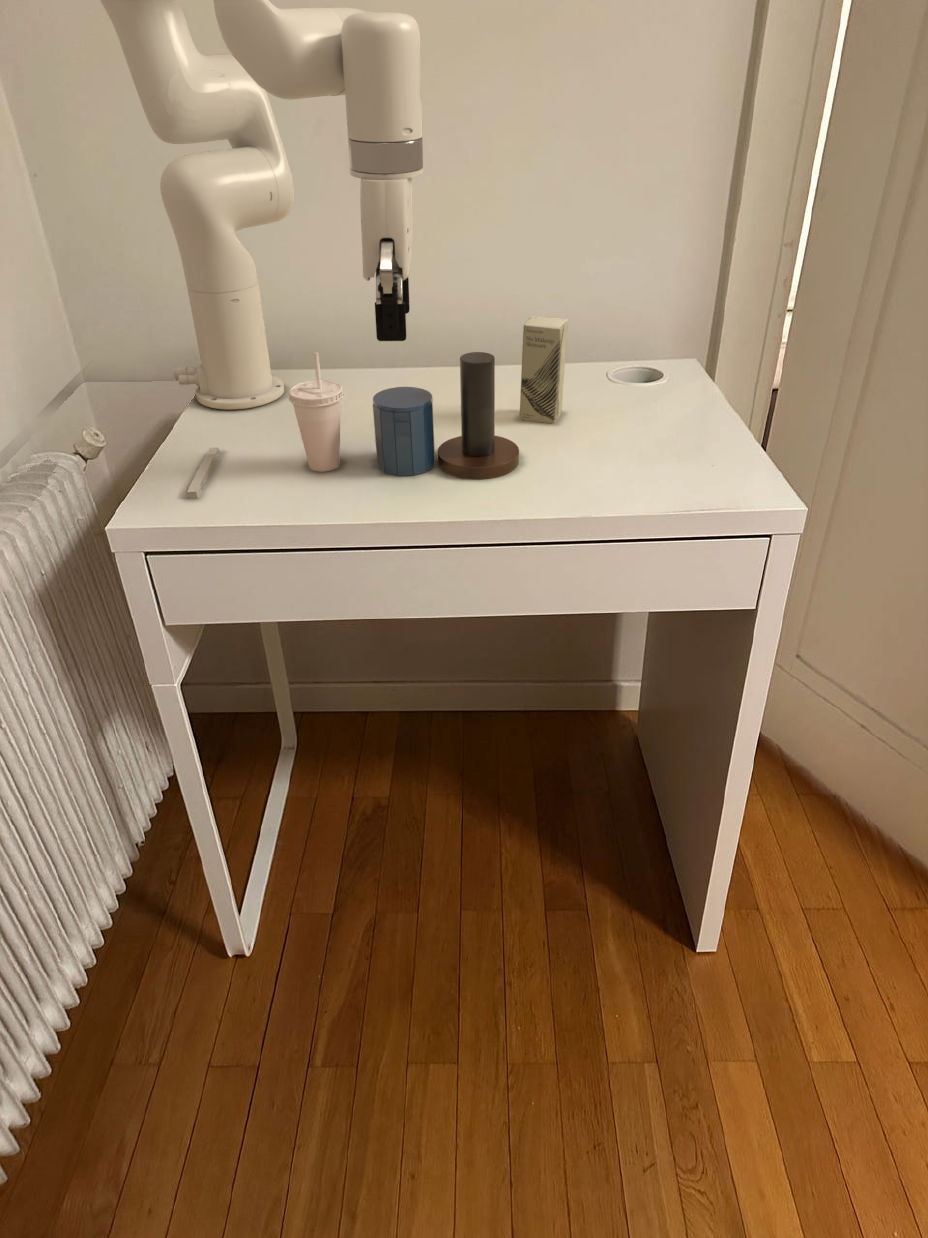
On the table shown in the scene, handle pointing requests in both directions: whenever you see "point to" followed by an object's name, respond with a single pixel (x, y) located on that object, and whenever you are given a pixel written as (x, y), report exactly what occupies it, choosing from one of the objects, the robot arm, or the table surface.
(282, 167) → the robot arm
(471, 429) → the disc
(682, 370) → the table surface
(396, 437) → the blue cylinder
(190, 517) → the table surface
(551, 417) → the box
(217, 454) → the grey long thin bar
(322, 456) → the smoothie
